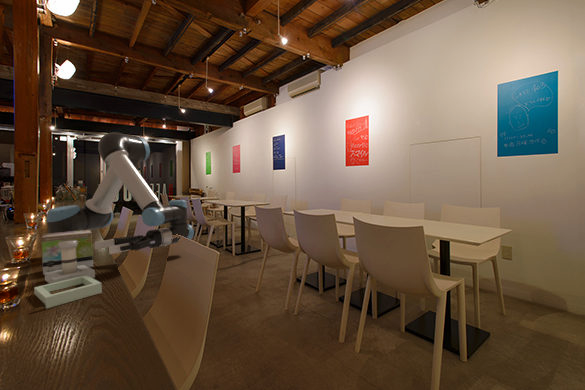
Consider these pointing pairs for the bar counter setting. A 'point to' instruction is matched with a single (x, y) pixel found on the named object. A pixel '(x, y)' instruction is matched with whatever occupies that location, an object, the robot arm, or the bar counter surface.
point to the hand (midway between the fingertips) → (101, 248)
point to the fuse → (68, 256)
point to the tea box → (53, 253)
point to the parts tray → (69, 295)
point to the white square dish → (56, 275)
